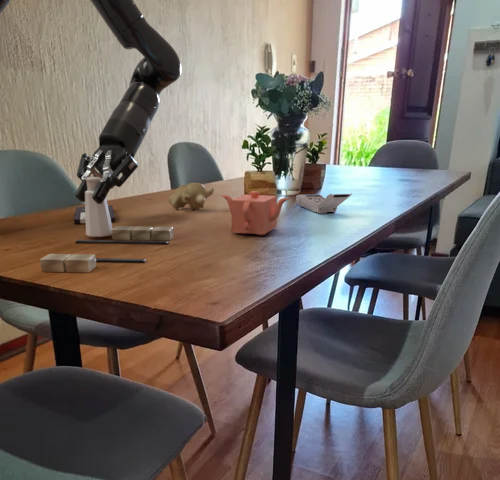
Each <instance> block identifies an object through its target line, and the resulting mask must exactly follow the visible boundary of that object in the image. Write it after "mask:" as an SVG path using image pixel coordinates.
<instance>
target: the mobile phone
mask: <svg viewBox="0 0 500 480" xmlns="http://www.w3.org/2000/svg"><path fill="white" fill-rule="evenodd" d="M352 195H353V193H352V192H351V193H335V194H333V193H329V194H328V195H326V197H324V196H323V195H322V194H314V193H313V194H296V196H295V202H296V203H297V204H298V206H299V207H302V208H304V209H307V210H309V211H311V212H314V213H316V212H317V213H316V214H321V215H322V214H328V213H327V212H334V213H333V214H335V213H336V212H337V211H338V207H339V206H340V205H342V204H343V202H345V201H347V199H349V198H350V197H351V196H352Z"/></svg>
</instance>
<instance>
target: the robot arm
mask: <svg viewBox="0 0 500 480" xmlns="http://www.w3.org/2000/svg"><path fill="white" fill-rule="evenodd" d="M10 2H11V0H0V15H1V14H2V13H3V12H4V11H5V9H6V8H7V6H8V5H9V4H10ZM90 2H91V3H92V5H93V7H94V8H95V10H96V11H97V12H98V14H99V16H100V17H101V19H103V21H104V23H105V25H106V26H107V27H108V28H109V30H110V31H111V33H112V34H113V36H114V37H115V38H116V40H117V41H118V43H119V44H120V45H121V47H122V48H123V49H125V50H133V49H135V50H137V51H138V52H139V53H140V54H141V55H142V56H143V57H142V59H140V61H139V62H138V63H137V65H136V66H135V68H134V70H133V73H132V75H131V78H130V81H129V84H128V87H127V89H126V91H125V93H123V95H122V97H121V100H120V101H119V103H118V105H117V106H116V107H115V108H114V110H113V111H112V112H111V115H110V117H108V118H109V119H108V120H107V122H106V123H105V125H104V126H103V129H102V130H101V133H100V134H99V136H98V143H99V146H98V148H97V149H96V150H95V151H94V152H93V154H91V155H88V154H87V153H86V152H84V153H82V154H81V156H80V161H79V164H78V168H77V172H76V177H77V178H78V179H79V180H80V181H81V182H80V184H79V186H78V188H77V189H76V191H75V194H74V195H75V198H76V199H77V200H78V201H79V202H81V203H85V191H87V190H88V189H87V188H88V187H87V182H86V178H88V177H99V178H101V181H100V182H99V184H98V186H97V188H96V190H95V191H94V193H93V195H92V199H93V200H94V201H95V202H96V203H98V204H101V203H102V202H103V201H104V199H105V198H106V199H107V196H108V194H109V192H110V190H112V189H114V188H115V187H117V188H120V187H122V186H123V185H124V184H125V182H126V181H127V180H128V179H129V178H130V177H131V175H132V174H133V173H134V172H135V171H136V170H137V169H138V167H139V164H138V163H137V161H136V160H135V159H134V158H135V156H136V154H137V153H138V150H139V149H140V147H141V145H142V143H143V141H144V140H145V137H146V135H147V133H148V131H149V128H150V125H151V123H152V121H153V119H154V118H155V115H156V113H157V112H158V110H159V107H160V102H161V101H160V98H159V97H160V95H161V93H162V91H163V90H164V89H166V88H168V87H169V86H170V85H172V84H174V83H175V82H176V81H178V80H179V78H180V77H181V75H182V63H181V60H180V57H179V55H178V54H177V52H176V50H175V49H174V47H173V46H172V45H171V44H170V43H169V42H168V41H167V40H166V39H165V38H164V37H163V36H162V35H161V34H160V33H159V32H158V31H157V30H156V29H155V28H153V26H152V25H151V24H150V23H149V22H148V21H147V20H146V18H145V16H144V15H143V13H142V12H141V10H140V9H139V7H138V6H137V4H136V2H135V1H134V0H90ZM121 174H122V175H121ZM91 175H93V176H91ZM120 175H121V176H120Z"/></svg>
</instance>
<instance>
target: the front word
mask: <svg viewBox="0 0 500 480" xmlns="http://www.w3.org/2000/svg"><path fill="white" fill-rule="evenodd" d="M146 262H147V258H122V257H121V258H120V257H119V258H117V257H116V258H114V257H111V258H110V257H96V254H94V253H93V254H91V253H90V254H89V253H88V254H87V253H86V254H85V253H84V254H83V253H74V254H71V253H49V254H47V255H45V256H43V257H42V258H40V259H39V263H40V269H41V272H42V273H65V272H66V273H90V272H92V271H93V270H95V268H97V265H98V264H97V263H121V264H123V263H124V264H125V263H127V264H129V263H130V264H144V263H146Z"/></svg>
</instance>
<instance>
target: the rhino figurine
mask: <svg viewBox="0 0 500 480" xmlns="http://www.w3.org/2000/svg"><path fill="white" fill-rule="evenodd" d="M214 192H215V188H214V187H205V186H204V185H203V184H202V183H200V182H190V183H187V185H185V184H181V185H179V187H178V188H176V189H175V191H174V193H172V194H170V196H169V198H168V199H167V202H168V203H169V204H170V206H172V207H173V208H174V209H175V210H176V211H178V210H179V209H181V208H184V207H186V206H187V205H188V207H189V208H190V209H192V210H199V209H204V206H205V203H206V201H207V199H208V198H209V197H210V196H212V195H213V194H214Z"/></svg>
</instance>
